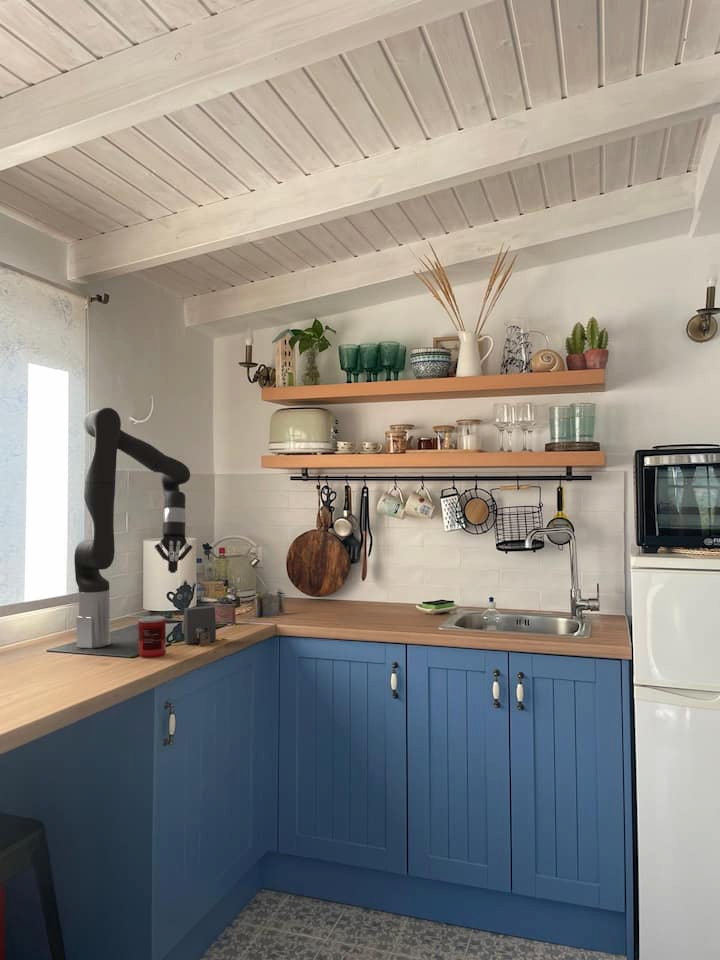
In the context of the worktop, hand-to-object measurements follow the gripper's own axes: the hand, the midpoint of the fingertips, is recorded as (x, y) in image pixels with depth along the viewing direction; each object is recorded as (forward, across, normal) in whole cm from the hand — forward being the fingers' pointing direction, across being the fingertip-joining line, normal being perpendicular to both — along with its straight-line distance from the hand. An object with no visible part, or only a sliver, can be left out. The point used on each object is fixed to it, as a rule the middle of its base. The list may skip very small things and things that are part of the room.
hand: (172, 572), depth 250 cm
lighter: (+18, +22, +11) cm, 30 cm away
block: (+23, +6, -15) cm, 28 cm away
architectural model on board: (+15, +42, +21) cm, 49 cm away
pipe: (+22, +6, -10) cm, 25 cm away
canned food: (+26, -11, -26) cm, 39 cm away
